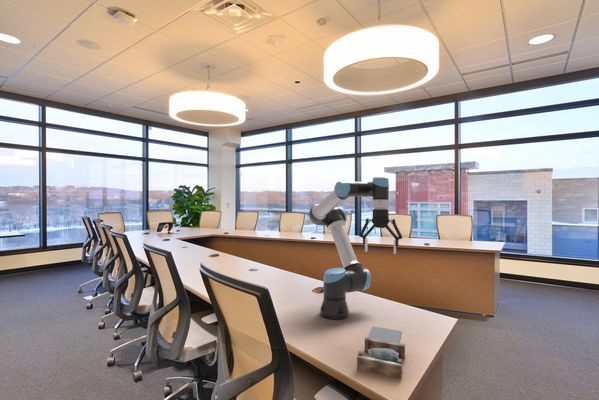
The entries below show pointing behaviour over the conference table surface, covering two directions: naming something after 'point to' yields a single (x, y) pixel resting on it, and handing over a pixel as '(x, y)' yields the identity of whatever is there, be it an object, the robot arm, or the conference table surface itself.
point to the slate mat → (385, 335)
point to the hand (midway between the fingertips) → (380, 252)
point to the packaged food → (384, 354)
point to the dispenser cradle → (381, 365)
